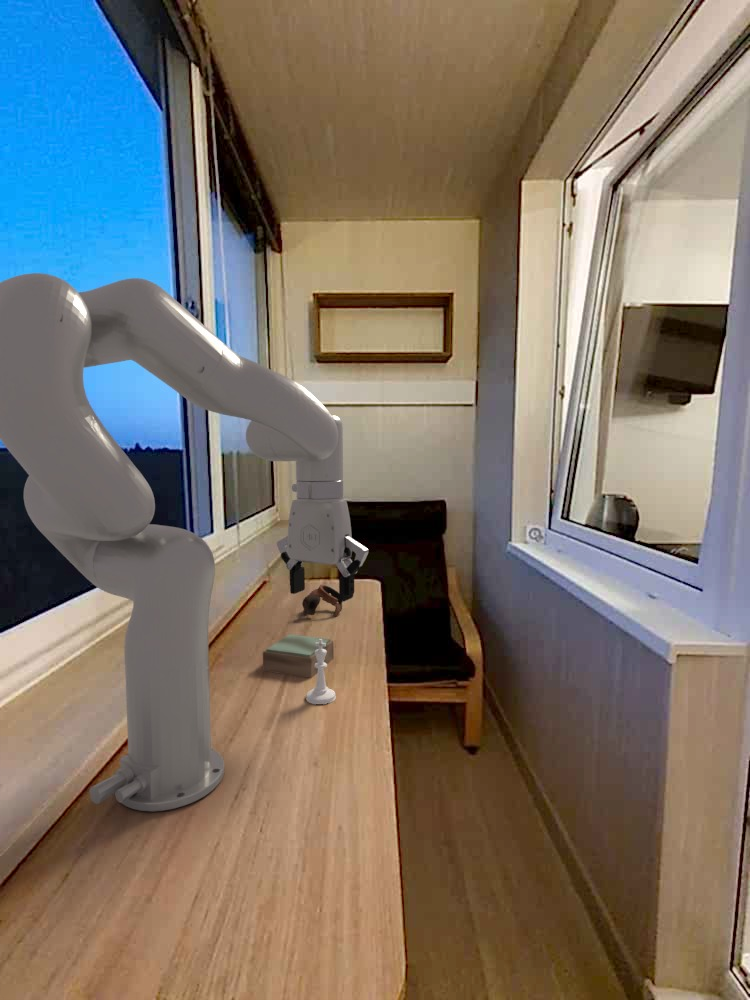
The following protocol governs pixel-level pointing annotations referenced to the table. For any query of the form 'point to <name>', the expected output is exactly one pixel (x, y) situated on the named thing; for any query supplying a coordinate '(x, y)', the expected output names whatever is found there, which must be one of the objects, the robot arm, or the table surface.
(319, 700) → the chess piece
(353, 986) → the table surface
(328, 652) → the pedestal
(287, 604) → the table surface
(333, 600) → the brown curved open ring
